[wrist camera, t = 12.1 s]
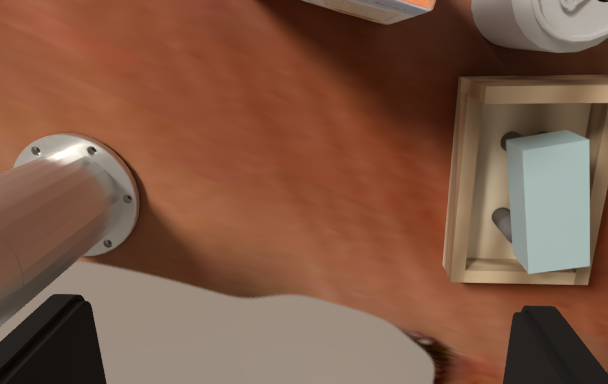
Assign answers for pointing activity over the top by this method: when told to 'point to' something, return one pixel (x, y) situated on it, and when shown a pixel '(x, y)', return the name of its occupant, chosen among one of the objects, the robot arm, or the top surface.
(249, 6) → the top surface
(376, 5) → the cracker box
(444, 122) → the top surface
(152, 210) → the top surface
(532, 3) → the can
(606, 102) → the wooden drawer
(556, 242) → the block
